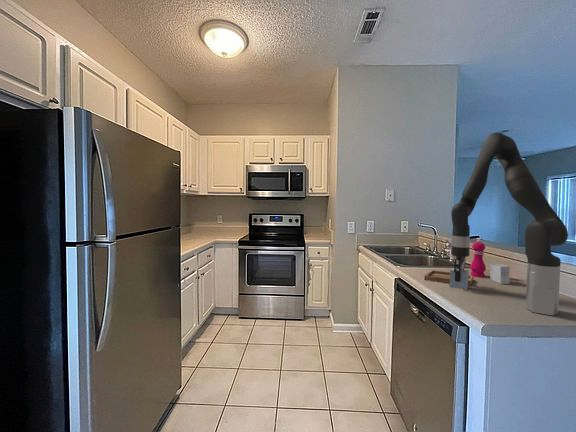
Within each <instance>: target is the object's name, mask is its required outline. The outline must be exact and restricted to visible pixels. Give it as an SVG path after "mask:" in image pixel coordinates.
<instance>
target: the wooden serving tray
mask: <svg viewBox="0 0 576 432" xmlns="http://www.w3.org/2000/svg"><path fill="white" fill-rule="evenodd" d="M423 280H424V281H429V280H430V281H431V282H435V281H436V283H442V282H443V283H444V284H449V285H450V271H449V272H447V271H442V270H429V272H428V273H426V274H425V275H424V279H423ZM473 281H474V276H471V275H468V288H469V287H470V286H471V285H472V283H473ZM443 283H442V284H443Z"/></svg>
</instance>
